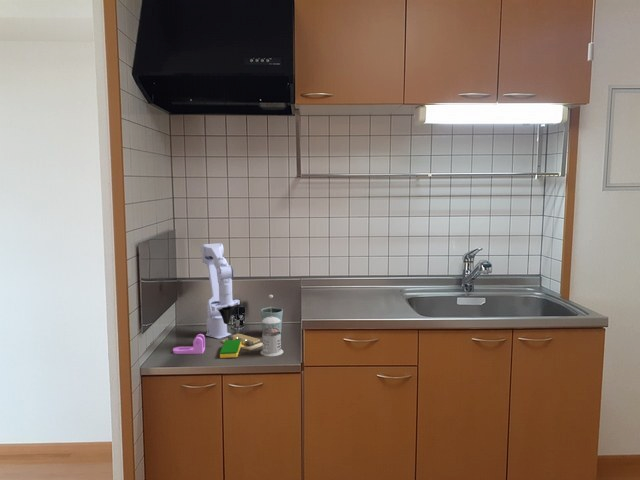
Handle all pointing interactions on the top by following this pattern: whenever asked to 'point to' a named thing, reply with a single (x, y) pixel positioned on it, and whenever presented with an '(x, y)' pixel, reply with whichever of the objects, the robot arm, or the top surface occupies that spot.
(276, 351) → the french press
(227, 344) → the dish sponge
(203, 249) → the robot arm
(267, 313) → the drinking glass
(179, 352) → the bracket
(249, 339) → the strip
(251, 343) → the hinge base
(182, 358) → the top surface
